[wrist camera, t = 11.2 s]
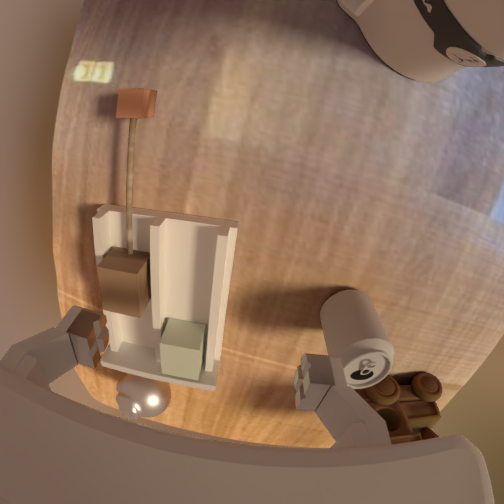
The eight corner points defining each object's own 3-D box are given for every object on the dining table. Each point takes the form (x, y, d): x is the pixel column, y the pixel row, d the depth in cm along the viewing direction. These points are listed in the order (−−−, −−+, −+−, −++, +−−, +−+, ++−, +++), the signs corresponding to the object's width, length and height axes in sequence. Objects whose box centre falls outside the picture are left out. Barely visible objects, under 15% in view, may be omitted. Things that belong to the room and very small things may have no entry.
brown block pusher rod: (126, 90, 27) (95, 88, 21) (167, 91, 27) (144, 86, 21) (123, 280, 38) (102, 309, 32) (157, 286, 38) (140, 318, 32)
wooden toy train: (330, 405, 50) (342, 481, 35) (354, 368, 45) (375, 453, 30) (412, 403, 51) (433, 465, 36) (440, 368, 46) (470, 434, 31)
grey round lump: (127, 348, 44) (106, 393, 35) (180, 367, 46) (167, 416, 37) (123, 376, 48) (106, 418, 39) (170, 394, 50) (159, 438, 41)
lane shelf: (104, 203, 33) (75, 224, 27) (238, 221, 34) (233, 248, 28) (117, 335, 43) (101, 365, 37) (220, 356, 44) (215, 391, 38)
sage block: (169, 317, 38) (159, 342, 34) (205, 324, 38) (199, 350, 34) (170, 348, 41) (162, 373, 36) (203, 354, 41) (198, 380, 36)
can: (312, 326, 41) (324, 393, 30) (328, 281, 37) (349, 347, 27) (359, 331, 41) (380, 393, 30) (378, 289, 38) (410, 350, 27)
